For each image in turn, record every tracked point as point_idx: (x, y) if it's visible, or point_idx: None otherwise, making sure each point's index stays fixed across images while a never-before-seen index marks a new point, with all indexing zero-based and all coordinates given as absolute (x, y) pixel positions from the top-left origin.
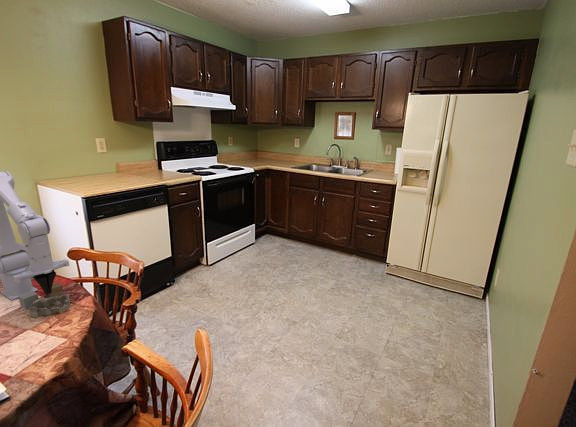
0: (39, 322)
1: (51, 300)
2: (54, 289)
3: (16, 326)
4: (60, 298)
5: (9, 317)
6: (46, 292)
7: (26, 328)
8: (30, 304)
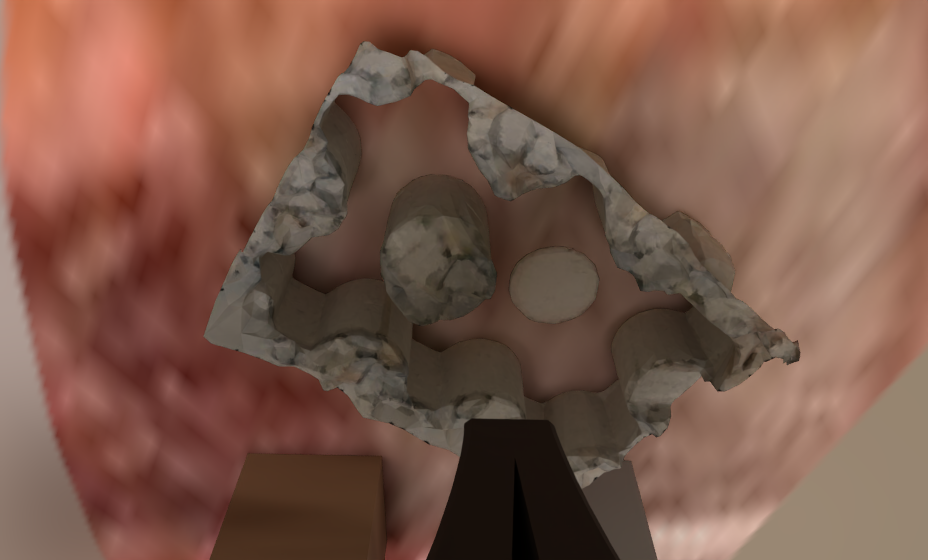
0: (756, 71)
1: (426, 393)
2: (312, 550)
3: (915, 224)
4: (339, 335)
5: (795, 441)
6: (563, 455)
7: (924, 68)
8: (587, 489)
